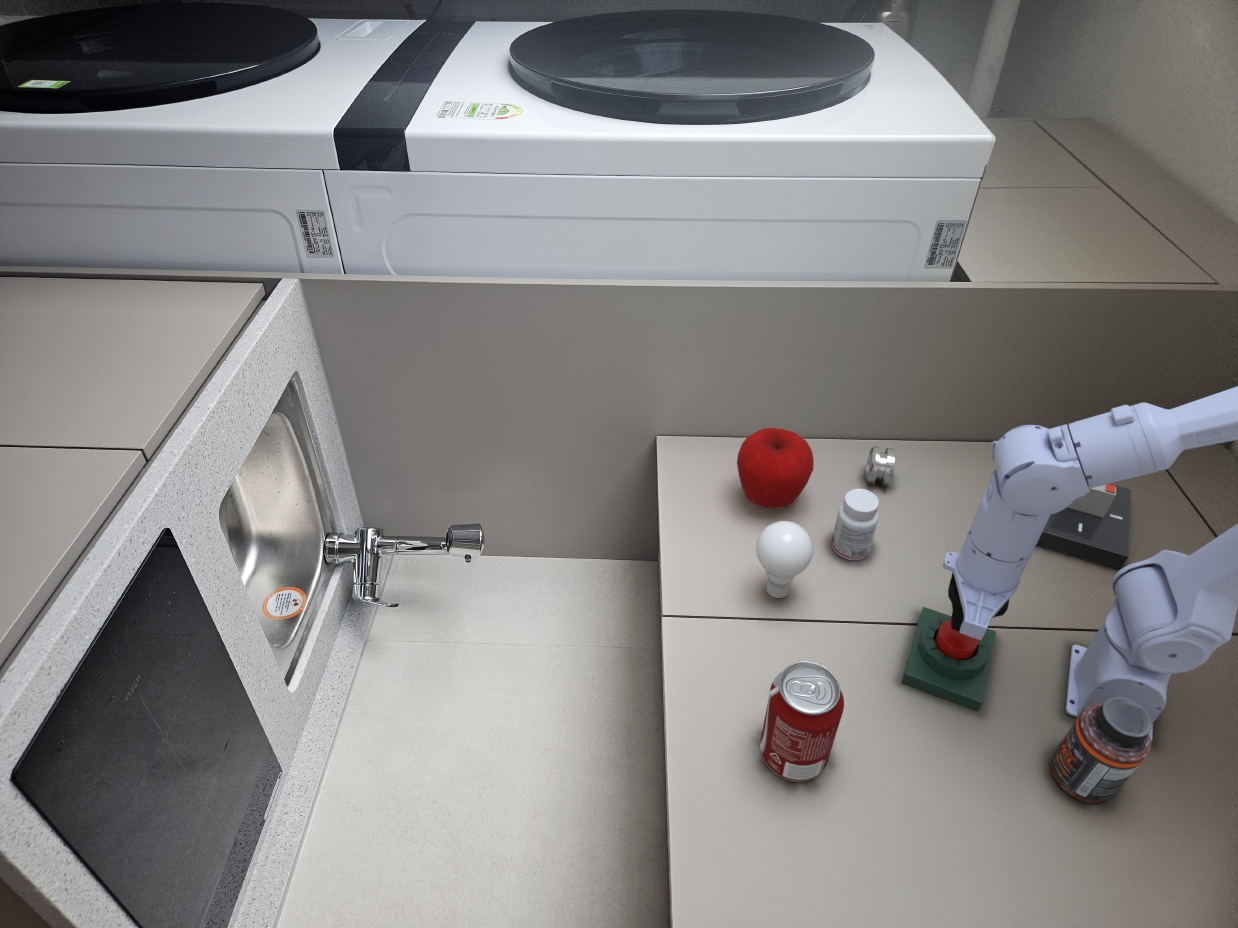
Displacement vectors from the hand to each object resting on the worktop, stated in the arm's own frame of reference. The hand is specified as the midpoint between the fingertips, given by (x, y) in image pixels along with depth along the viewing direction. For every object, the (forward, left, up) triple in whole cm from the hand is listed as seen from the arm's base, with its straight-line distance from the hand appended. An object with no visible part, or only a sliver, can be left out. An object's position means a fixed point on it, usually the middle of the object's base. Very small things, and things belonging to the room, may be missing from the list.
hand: (962, 627), depth 85 cm
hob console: (+29, -11, -6) cm, 32 cm away
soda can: (-18, +12, -6) cm, 23 cm away
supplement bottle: (-8, -14, -6) cm, 17 cm away
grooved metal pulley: (+26, +14, -6) cm, 30 cm away
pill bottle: (+12, +14, -6) cm, 19 cm away
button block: (0, 0, -6) cm, 6 cm away
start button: (0, 0, -3) cm, 3 cm away
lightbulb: (+1, +20, -6) cm, 21 cm away
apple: (+16, +26, -6) cm, 31 cm away
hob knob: (+29, -11, -4) cm, 31 cm away
